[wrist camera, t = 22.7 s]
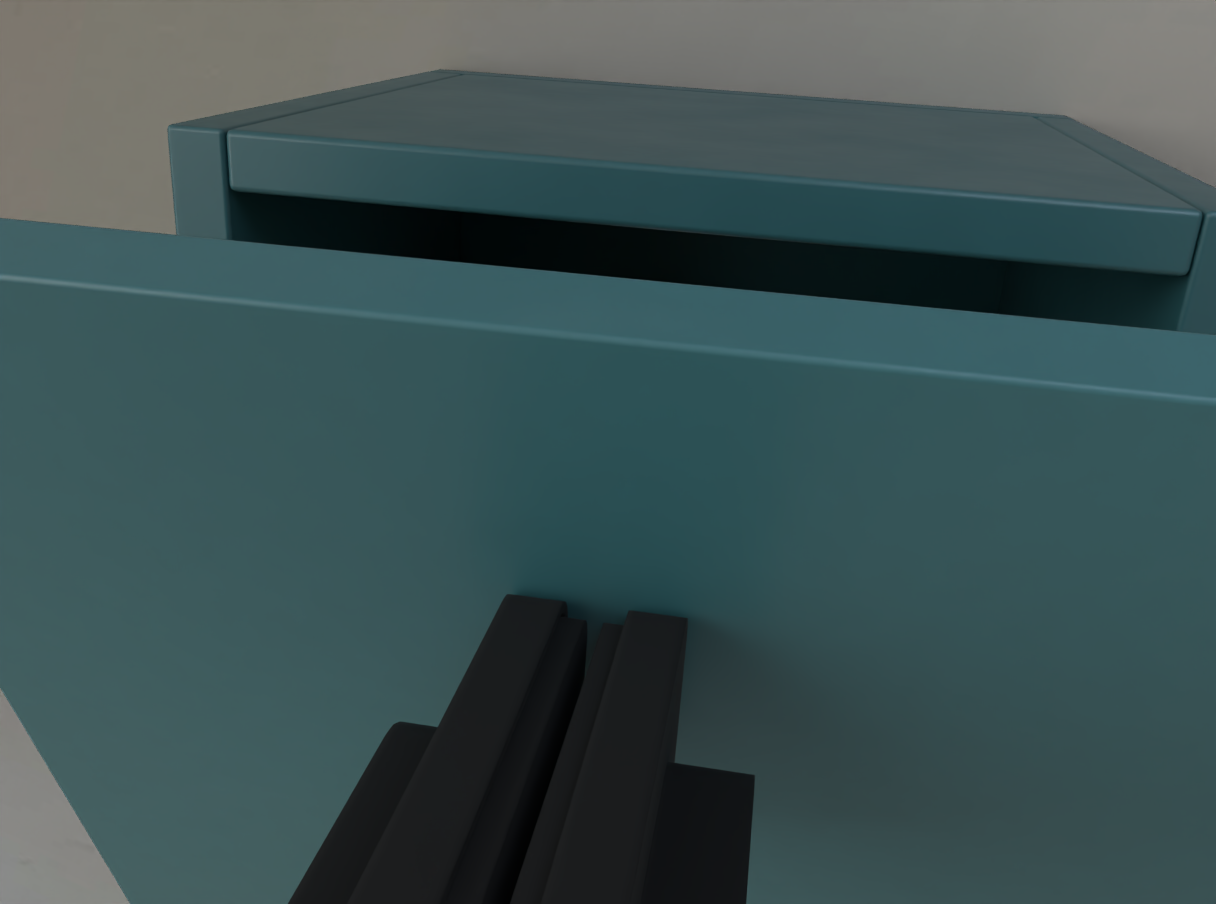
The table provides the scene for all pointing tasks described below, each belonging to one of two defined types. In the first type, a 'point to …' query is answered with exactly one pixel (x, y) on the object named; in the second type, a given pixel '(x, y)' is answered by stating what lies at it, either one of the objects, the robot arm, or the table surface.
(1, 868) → the table surface
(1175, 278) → the teal open box
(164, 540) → the cool box lid
